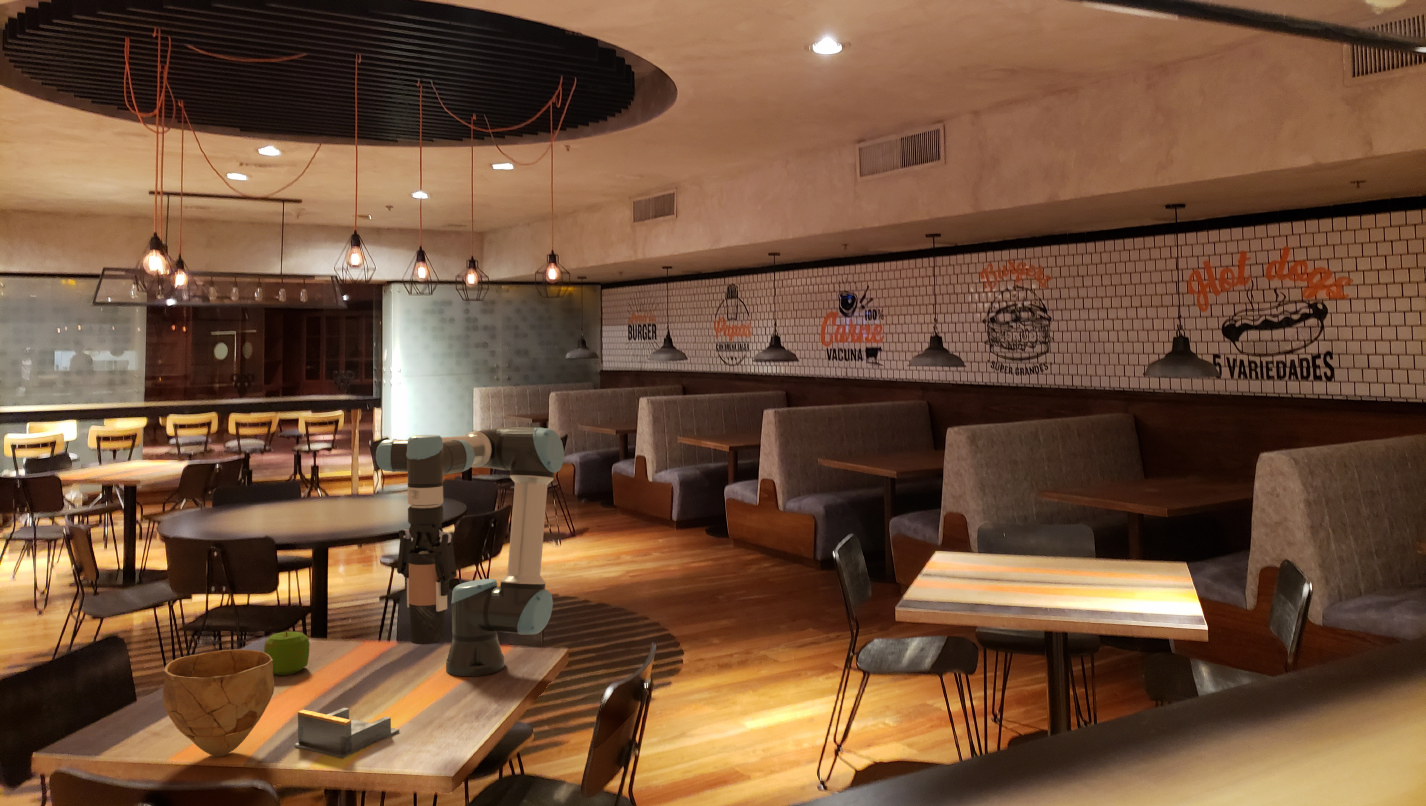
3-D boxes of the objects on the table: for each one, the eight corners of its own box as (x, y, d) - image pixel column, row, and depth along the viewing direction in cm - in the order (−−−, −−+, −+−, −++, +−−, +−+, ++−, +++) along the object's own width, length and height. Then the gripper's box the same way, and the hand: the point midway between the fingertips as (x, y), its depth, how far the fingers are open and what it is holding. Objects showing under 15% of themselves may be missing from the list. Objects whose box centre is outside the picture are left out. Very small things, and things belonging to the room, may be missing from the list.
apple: (318, 669, 259) (317, 628, 259) (281, 680, 250) (280, 638, 250) (292, 662, 265) (292, 622, 265) (256, 673, 256) (255, 632, 256)
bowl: (219, 732, 215) (217, 642, 214) (296, 742, 209) (294, 650, 209) (139, 769, 195) (137, 671, 195) (221, 782, 190) (219, 680, 189)
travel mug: (452, 636, 218) (451, 548, 218) (432, 646, 211) (430, 554, 210) (423, 634, 221) (421, 546, 220) (402, 643, 214) (400, 552, 213)
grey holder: (353, 721, 221) (352, 690, 221) (399, 732, 215) (398, 700, 215) (294, 746, 207) (293, 713, 207) (342, 758, 201) (341, 724, 200)
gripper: (378, 504, 216) (379, 606, 217) (450, 510, 207) (451, 617, 208) (402, 500, 223) (404, 599, 224) (473, 505, 214) (474, 609, 215)
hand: (427, 607), depth 216 cm, fingers closed on travel mug, 8 cm apart
